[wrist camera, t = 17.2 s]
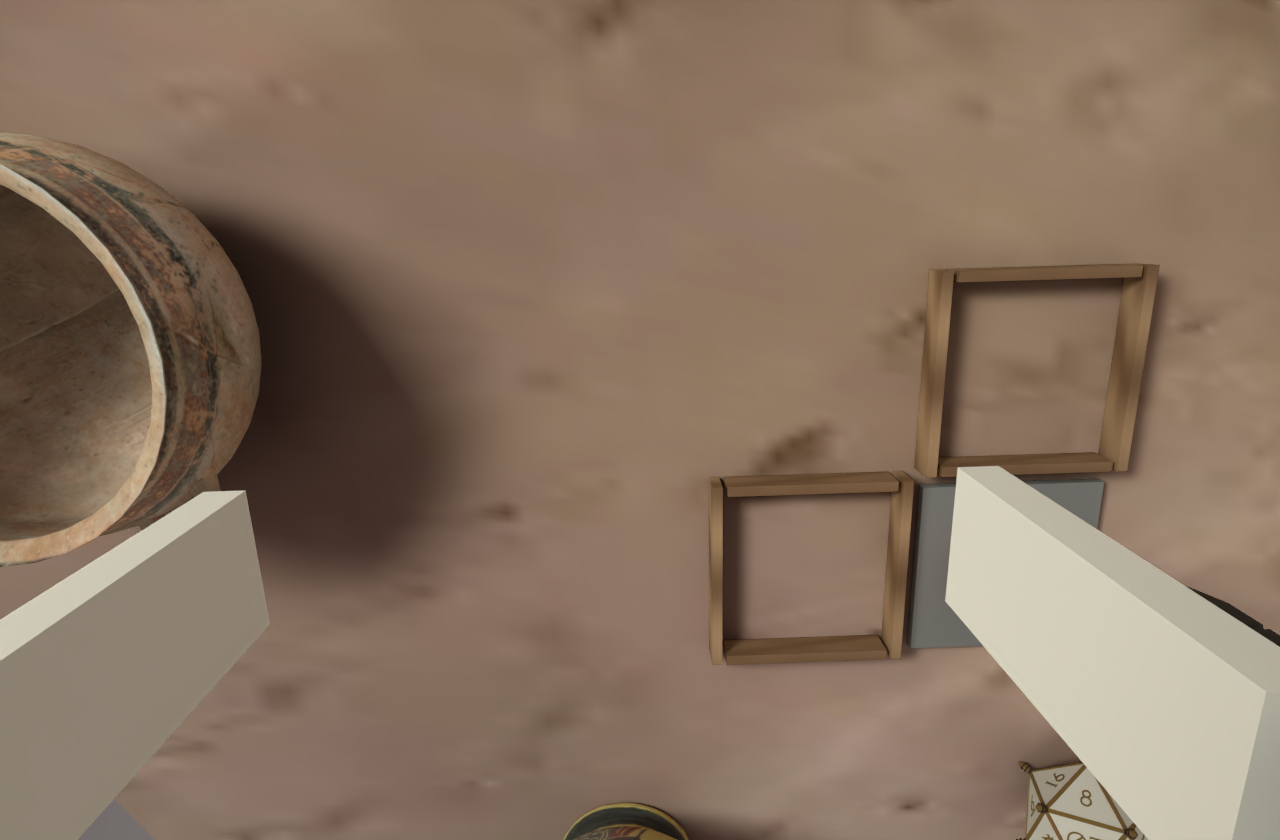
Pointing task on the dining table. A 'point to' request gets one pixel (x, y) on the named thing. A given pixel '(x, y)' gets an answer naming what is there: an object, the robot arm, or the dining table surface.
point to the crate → (815, 646)
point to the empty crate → (1121, 381)
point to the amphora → (625, 824)
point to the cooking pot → (110, 350)
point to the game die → (1073, 807)
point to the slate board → (932, 549)
